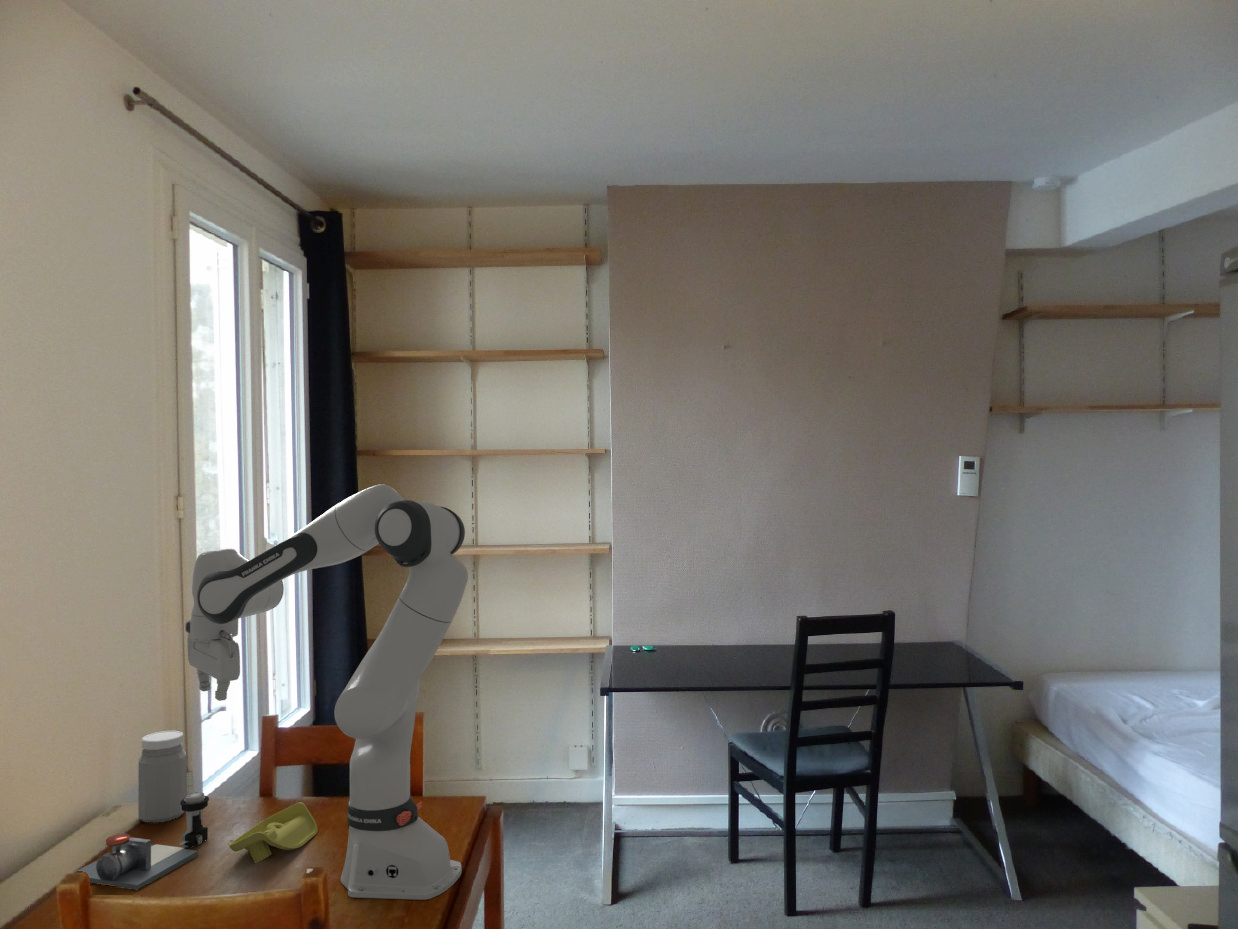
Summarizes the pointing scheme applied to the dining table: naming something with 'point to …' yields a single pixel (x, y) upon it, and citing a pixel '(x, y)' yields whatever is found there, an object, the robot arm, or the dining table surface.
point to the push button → (194, 819)
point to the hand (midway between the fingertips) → (212, 695)
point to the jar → (161, 777)
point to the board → (161, 864)
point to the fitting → (124, 856)
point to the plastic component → (278, 832)
